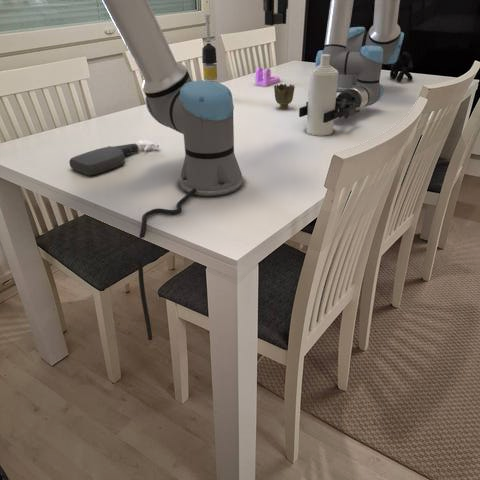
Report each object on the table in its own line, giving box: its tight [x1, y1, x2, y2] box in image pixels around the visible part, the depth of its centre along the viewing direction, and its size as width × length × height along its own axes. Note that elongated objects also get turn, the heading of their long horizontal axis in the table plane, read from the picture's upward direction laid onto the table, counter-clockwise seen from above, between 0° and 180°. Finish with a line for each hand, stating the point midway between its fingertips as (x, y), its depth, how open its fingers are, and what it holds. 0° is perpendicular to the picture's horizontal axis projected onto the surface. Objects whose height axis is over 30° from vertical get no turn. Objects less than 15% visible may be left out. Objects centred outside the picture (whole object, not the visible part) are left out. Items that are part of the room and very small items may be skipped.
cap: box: [274, 12, 284, 25], centre depth 117 cm, size 4×4×2 cm
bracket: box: [254, 66, 280, 87], centre depth 199 cm, size 13×6×7 cm, turn 143°
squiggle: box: [386, 51, 414, 83], centre depth 198 cm, size 11×10×15 cm
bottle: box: [305, 54, 338, 137], centre depth 137 cm, size 8×8×23 cm
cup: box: [273, 83, 296, 110], centre depth 163 cm, size 8×7×8 cm
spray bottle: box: [68, 139, 160, 177], centre depth 124 cm, size 3×11×24 cm
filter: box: [201, 14, 219, 83], centre depth 171 cm, size 6×6×30 cm
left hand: (275, 24), depth 118 cm, fingers closed on cap, 4 cm apart
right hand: (312, 115), depth 137 cm, fingers closed on bottle, 8 cm apart
